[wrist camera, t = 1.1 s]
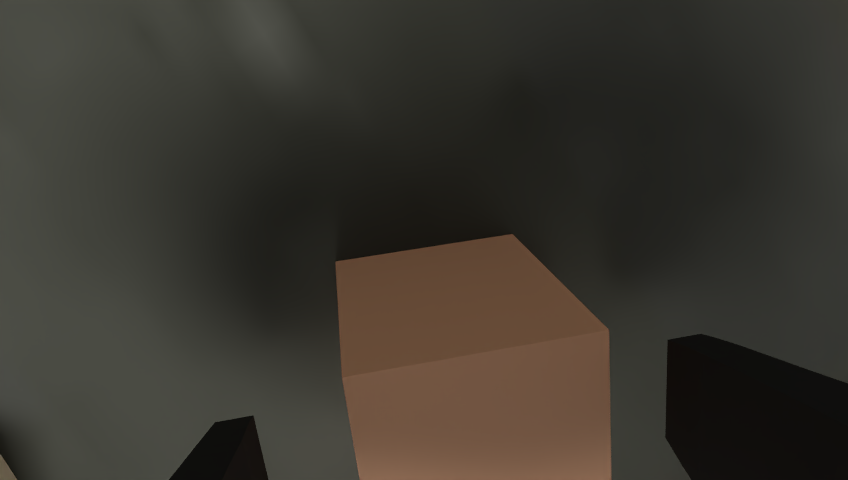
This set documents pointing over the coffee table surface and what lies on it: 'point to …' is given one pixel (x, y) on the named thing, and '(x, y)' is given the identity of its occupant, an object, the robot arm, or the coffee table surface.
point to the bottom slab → (5, 471)
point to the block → (471, 367)
